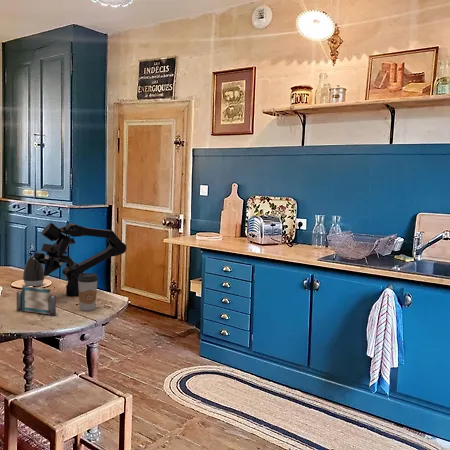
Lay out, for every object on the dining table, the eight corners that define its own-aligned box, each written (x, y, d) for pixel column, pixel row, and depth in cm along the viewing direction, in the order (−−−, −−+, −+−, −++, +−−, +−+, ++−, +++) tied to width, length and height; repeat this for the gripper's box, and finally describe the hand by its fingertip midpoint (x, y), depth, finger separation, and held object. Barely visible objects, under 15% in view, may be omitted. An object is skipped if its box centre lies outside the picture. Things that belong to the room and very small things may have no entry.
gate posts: (56, 314, 193) (57, 295, 192) (53, 316, 191) (53, 297, 190) (19, 309, 197) (19, 290, 196) (15, 311, 195) (15, 292, 194)
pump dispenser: (40, 288, 231) (40, 258, 230) (19, 287, 232) (19, 257, 230) (48, 283, 242) (48, 254, 240) (28, 282, 242) (28, 253, 240)
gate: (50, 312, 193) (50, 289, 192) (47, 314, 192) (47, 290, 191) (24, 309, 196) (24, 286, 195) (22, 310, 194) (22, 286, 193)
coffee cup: (79, 312, 197) (79, 277, 196) (75, 307, 205) (76, 273, 203) (99, 310, 201) (99, 276, 199) (95, 305, 208) (95, 272, 207)
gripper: (35, 235, 213) (17, 263, 205) (68, 238, 207) (52, 268, 198) (47, 249, 222) (31, 277, 213) (80, 252, 215) (65, 281, 207)
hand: (44, 275), depth 208 cm, fingers closed
